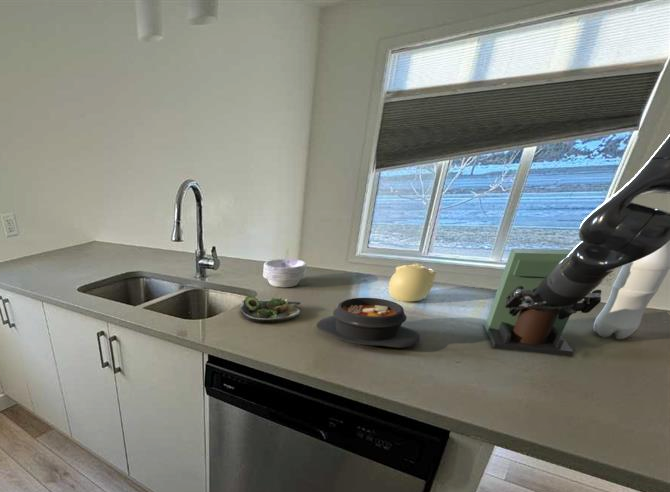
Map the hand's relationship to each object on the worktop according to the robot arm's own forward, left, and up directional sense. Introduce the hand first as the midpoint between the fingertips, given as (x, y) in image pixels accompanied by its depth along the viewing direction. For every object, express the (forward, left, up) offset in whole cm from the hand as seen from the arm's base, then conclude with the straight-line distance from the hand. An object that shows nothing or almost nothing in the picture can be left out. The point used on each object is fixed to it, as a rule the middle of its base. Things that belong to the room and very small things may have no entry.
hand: (536, 313), depth 94 cm
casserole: (+30, -19, -7) cm, 36 cm away
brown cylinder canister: (+1, +1, -6) cm, 6 cm away
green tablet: (0, 0, -7) cm, 7 cm away
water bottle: (-19, +6, -7) cm, 21 cm away
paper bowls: (+22, -70, -7) cm, 74 cm away
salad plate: (+43, -47, -7) cm, 64 cm away
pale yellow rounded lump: (-1, -36, -7) cm, 37 cm away
